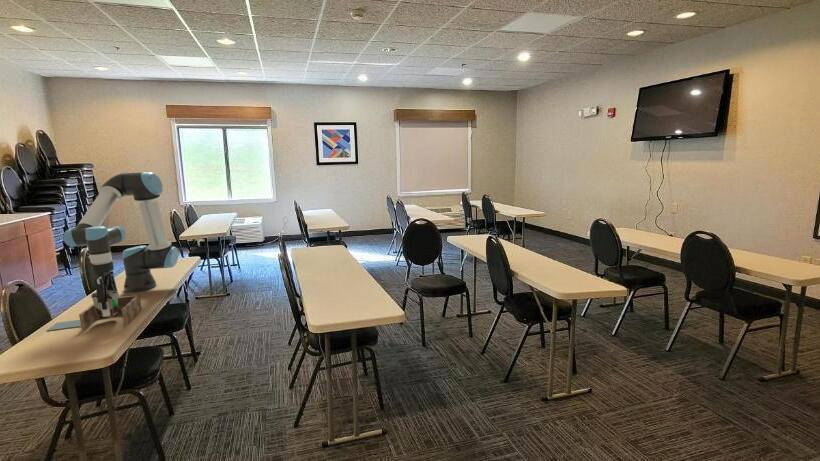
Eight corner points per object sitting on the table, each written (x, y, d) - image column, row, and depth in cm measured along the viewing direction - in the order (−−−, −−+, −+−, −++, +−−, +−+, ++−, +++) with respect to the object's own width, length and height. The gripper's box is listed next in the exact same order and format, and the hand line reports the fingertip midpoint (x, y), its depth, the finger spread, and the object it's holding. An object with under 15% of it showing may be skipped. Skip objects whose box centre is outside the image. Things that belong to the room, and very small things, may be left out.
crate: (100, 314, 190) (98, 299, 189) (141, 309, 195) (139, 294, 194) (81, 330, 171) (79, 314, 170) (127, 324, 176) (124, 308, 175)
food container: (129, 312, 182) (125, 290, 180) (116, 317, 176) (112, 295, 175) (107, 310, 186) (104, 289, 184) (94, 315, 180) (90, 293, 178)
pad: (57, 323, 180) (57, 322, 180) (94, 318, 184) (94, 317, 184) (46, 331, 171) (46, 330, 171) (86, 326, 176) (86, 325, 176)
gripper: (101, 257, 185) (109, 305, 189) (80, 269, 165) (90, 322, 169) (120, 256, 187) (128, 303, 191) (102, 267, 167) (112, 319, 172)
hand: (110, 312), depth 180 cm, fingers closed on food container, 8 cm apart
